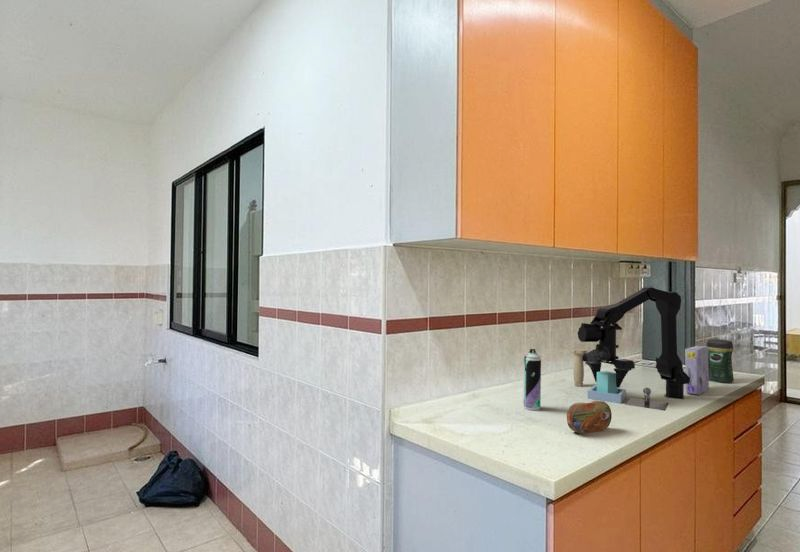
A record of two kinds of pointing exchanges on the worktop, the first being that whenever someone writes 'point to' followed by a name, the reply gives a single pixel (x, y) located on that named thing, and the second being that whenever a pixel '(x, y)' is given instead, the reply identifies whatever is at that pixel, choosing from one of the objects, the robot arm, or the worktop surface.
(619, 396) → the bin
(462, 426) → the worktop surface
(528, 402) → the spray can
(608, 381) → the turquoise rectangular block
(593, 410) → the tin
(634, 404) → the ball stud
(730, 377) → the coffee jar
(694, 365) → the cake pan box
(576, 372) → the handle
